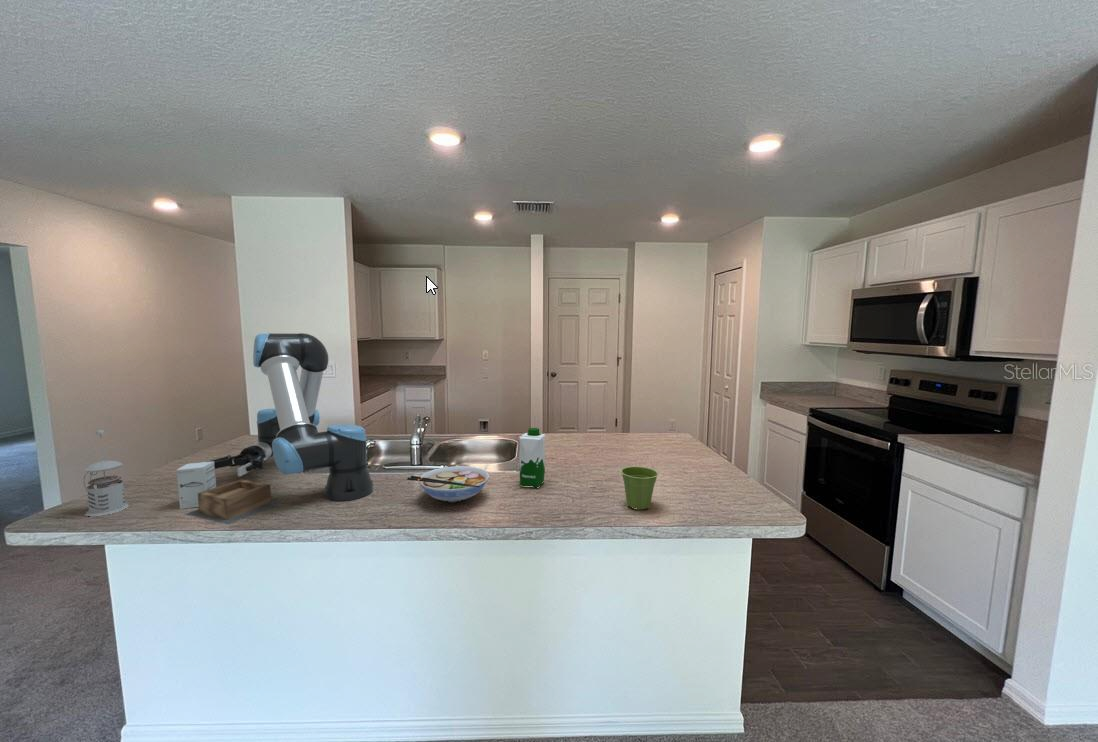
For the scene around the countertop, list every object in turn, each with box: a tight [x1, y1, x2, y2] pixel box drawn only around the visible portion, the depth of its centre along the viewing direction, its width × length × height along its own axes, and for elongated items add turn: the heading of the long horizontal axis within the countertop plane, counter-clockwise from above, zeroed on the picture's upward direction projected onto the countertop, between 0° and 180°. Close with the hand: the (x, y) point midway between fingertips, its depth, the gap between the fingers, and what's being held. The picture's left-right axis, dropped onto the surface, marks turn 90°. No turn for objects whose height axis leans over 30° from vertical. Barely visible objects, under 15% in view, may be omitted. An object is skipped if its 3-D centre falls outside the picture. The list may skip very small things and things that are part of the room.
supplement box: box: [176, 461, 217, 510], centre depth 136 cm, size 7×7×13 cm
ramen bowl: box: [406, 465, 490, 503], centre depth 143 cm, size 25×23×8 cm
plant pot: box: [620, 465, 659, 510], centre depth 137 cm, size 12×12×11 cm
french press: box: [82, 429, 130, 517], centre depth 131 cm, size 10×12×25 cm
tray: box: [198, 478, 272, 520], centre depth 133 cm, size 13×13×6 cm
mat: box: [185, 498, 284, 525], centre depth 133 cm, size 19×17×1 cm
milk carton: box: [518, 427, 546, 487], centre depth 155 cm, size 9×9×20 cm
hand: (217, 472), depth 145 cm, fingers open, 13 cm apart
